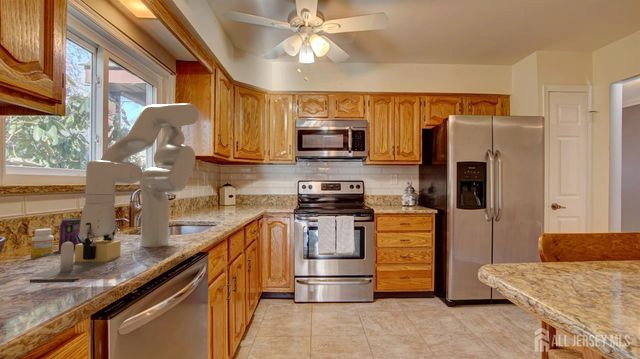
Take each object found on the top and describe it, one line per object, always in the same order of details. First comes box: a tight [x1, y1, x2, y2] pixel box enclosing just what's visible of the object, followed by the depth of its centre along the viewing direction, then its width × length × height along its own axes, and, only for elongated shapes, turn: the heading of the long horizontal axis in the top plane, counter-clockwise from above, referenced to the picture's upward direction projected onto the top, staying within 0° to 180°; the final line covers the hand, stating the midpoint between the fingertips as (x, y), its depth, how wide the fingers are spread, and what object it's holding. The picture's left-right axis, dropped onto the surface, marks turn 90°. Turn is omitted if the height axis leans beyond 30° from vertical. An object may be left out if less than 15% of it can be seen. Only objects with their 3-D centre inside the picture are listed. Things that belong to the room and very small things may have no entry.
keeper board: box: [29, 242, 126, 284], centre depth 86 cm, size 24×10×9 cm, turn 5°
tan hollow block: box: [74, 240, 122, 262], centre depth 92 cm, size 7×9×5 cm
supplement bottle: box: [30, 228, 55, 259], centre depth 96 cm, size 5×5×10 cm
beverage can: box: [58, 217, 81, 252], centre depth 106 cm, size 7×7×12 cm
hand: (98, 255), depth 92 cm, fingers open, 7 cm apart
